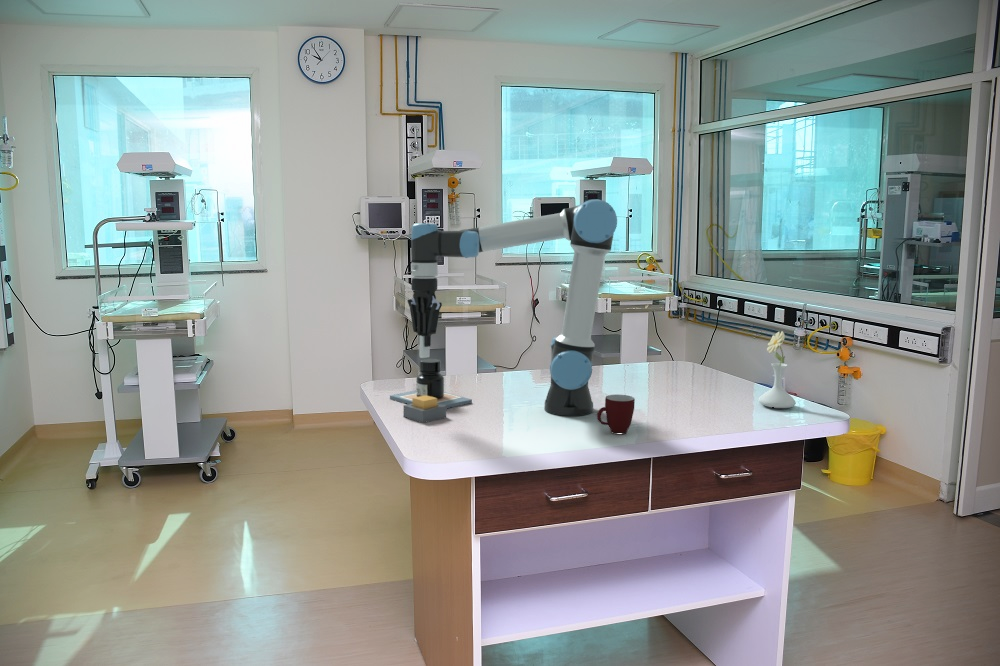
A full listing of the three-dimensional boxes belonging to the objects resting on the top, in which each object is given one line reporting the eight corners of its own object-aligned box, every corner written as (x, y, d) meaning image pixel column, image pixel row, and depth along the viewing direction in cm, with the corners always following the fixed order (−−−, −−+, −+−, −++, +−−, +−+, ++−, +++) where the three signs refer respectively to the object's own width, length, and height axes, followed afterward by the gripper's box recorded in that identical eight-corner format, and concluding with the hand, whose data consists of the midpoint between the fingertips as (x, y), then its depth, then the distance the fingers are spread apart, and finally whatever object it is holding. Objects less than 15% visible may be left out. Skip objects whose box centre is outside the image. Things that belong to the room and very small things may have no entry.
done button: (437, 411, 228) (437, 398, 228) (423, 414, 225) (423, 401, 224) (426, 408, 232) (425, 395, 231) (412, 411, 228) (412, 397, 228)
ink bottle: (414, 394, 252) (414, 358, 250) (441, 393, 254) (441, 357, 252) (418, 401, 242) (418, 363, 241) (446, 399, 245) (446, 363, 243)
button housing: (446, 417, 229) (446, 405, 228) (422, 422, 222) (422, 411, 222) (426, 411, 235) (426, 400, 235) (403, 416, 229) (403, 405, 228)
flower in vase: (758, 401, 254) (763, 326, 250) (795, 404, 250) (800, 328, 246) (757, 410, 241) (762, 331, 238) (796, 413, 238) (801, 334, 234)
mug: (605, 438, 209) (606, 403, 207) (591, 431, 216) (592, 396, 215) (638, 435, 213) (640, 399, 211) (623, 427, 220) (624, 393, 219)
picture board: (471, 403, 246) (471, 399, 246) (433, 411, 235) (433, 407, 235) (427, 391, 262) (427, 387, 261) (389, 398, 250) (389, 395, 250)
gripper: (400, 276, 224) (400, 355, 228) (429, 279, 215) (429, 362, 219) (420, 275, 229) (420, 352, 233) (449, 278, 220) (448, 358, 224)
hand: (424, 357), depth 226 cm, fingers closed
